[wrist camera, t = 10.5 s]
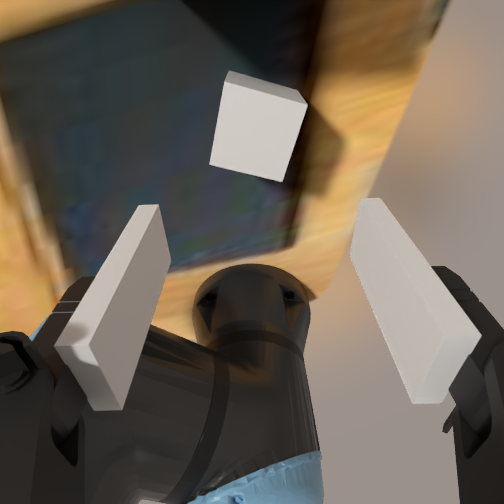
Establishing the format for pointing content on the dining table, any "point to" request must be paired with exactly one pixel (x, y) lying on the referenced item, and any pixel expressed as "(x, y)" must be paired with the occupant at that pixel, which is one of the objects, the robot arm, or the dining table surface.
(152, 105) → the dining table surface
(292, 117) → the light grey cube
